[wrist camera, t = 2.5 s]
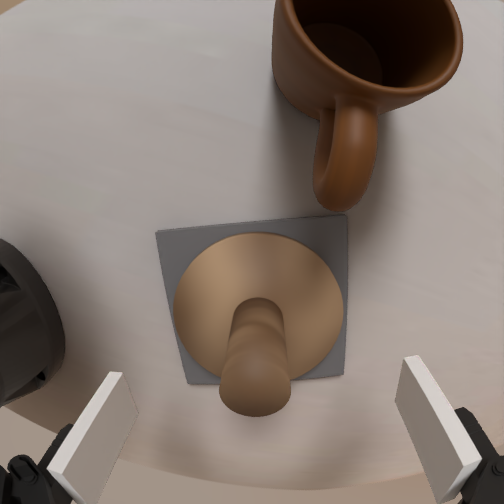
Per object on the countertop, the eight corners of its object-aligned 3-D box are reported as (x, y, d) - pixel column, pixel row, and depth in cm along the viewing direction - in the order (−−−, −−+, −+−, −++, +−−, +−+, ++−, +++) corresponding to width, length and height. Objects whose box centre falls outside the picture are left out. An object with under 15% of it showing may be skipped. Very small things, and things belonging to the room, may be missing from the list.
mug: (364, 206, 19) (438, 245, 10) (247, 180, 19) (231, 199, 10) (392, 38, 16) (464, -20, 7) (281, 8, 16) (291, -81, 7)
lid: (192, 378, 23) (168, 458, 15) (163, 239, 20) (108, 287, 12) (337, 370, 22) (361, 450, 14) (339, 224, 19) (386, 267, 11)
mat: (189, 379, 23) (187, 383, 23) (158, 230, 20) (155, 232, 20) (342, 369, 23) (343, 374, 22) (344, 214, 19) (347, 216, 19)
